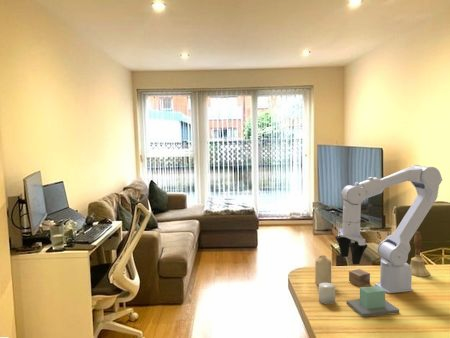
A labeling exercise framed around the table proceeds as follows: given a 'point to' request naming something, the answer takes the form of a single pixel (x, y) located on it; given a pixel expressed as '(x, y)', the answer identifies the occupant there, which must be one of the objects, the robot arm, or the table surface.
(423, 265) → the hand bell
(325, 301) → the grey cylinder
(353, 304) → the slate board
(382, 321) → the table surface
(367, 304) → the teal brick
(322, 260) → the candle
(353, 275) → the walnut block
